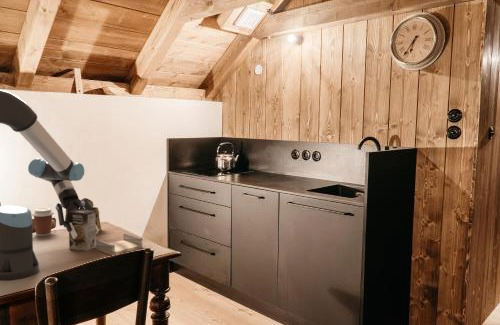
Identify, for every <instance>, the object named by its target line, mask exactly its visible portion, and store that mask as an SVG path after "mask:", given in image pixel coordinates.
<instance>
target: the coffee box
mask: <svg viewBox="0 0 500 325" xmlns="http://www.w3.org/2000/svg"><path fill="white" fill-rule="evenodd" d="M69 218H70V220H69V223H72V225H73V227H74V229H75V231H76V233H77V237H76V238H75V239H73V237H72V235H71V233H70V232H68V239H69V240H68V245H69V246H68V249H69V250H77V251H86V252H87V251H88V252H89V251H90V250H92V249H94V248H96V240H97V239H96V235H97V234H96V211H91V210H80V208H79V209H77V210H73V211H70V212H69Z"/></svg>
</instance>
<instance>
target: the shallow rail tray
mask: <svg viewBox="0 0 500 325" xmlns="http://www.w3.org/2000/svg"><path fill="white" fill-rule="evenodd" d="M142 248H143V237H140V236H137V235H133V234H130V233H127V232H125V233H123V240H118V241H115V242H114V241H113V242H110V243H109V242H107V241H104V240H101V239H96V247H95V250H97V251H99V252H102V253H104V254H107V255H109V256H112V255H113V256H115V255H114V254H117V255H120V254H119V253H121V254H123V252H124V253H127V252H132V251H134V250H135V251H136V250H139V249H142Z"/></svg>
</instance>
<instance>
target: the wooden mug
mask: <svg viewBox="0 0 500 325" xmlns="http://www.w3.org/2000/svg"><path fill="white" fill-rule="evenodd" d="M85 199H86V200H87V201H88V204H89V205H90V206H91V207H92V209H93V210H94V211H96V213H97V215H98V216H97V218H96V222H97V227H98V229H99V232H101V231H102V226H101V219H100V210H99V207H97V206H94V202H93V201H92V200H91V199H89V198H86V197H84V198H82V199H80V200H81V201H84V200H85ZM81 205H82V204H81ZM83 207H84V206H83Z"/></svg>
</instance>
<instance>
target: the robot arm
mask: <svg viewBox="0 0 500 325" xmlns="http://www.w3.org/2000/svg"><path fill="white" fill-rule="evenodd" d="M0 124H3V125H6V126H7V127H10V128H11V130H13V131H14V132H16V133H19V134H20V135H21V136H22V137H23V138H24V139H25V140H26V141H27V142H28V143H29V145H31V146H32V148H33V149H34V150H35V151H36V152H37V153H38V154H39V155H40V156H41V157H42V158H43V159H41V158H34V159H32V160H31V161H30V162H29V164H28V167H27V170H28V173H29V174H30V175H31V176H34V177H35V178H38V179H42V180H44V181H46V182H49V183H51V185H52V187H53V190H54V191H55V193H56V195H57V197H58V200H59V202H60V203H59V202H58V203H56V205H55V208H54V209H55V210H56V212H57V217H58V218H57V219H58V224H59V226H60V227H62V226H63V227H64V228H66V230H67V232H68V233H69V232H70V233H71V235H72V237H73V239H75V238H76V237H77V233H76V231H75V229H74V227H73V225H72V223H69V220H70V218H69V212H70V211H73V210H77V209H80V210H91V211H94V210H93V209H92V207H91V206H90V205H89V204H88V201H87V200H86V199H85V200H84V201H81V200H82V199H80V197H79V195H78V193H77V191H76V189H75V186H74V185H73V183H72V181H73V182H74V181H78V182H79V181H81V180H82V179H83V177H84V176H85V167H84V166H83V164H82V163H80V162H74V161H73V160H72V159H71V158H70V156H69V155H67V153H66V151H64V150H63V149H62V147H61V146H60V144H59V143H57V141H55V138H53V137H52V135H51V134H50V133H49V132H48V130H47V129H46V128H45V127H44V126H43V125H42V124H41V123H40V121H39V120H38V115H37V113H36V111H34V110H33V109H32V107H30V105H28V103H26V102H25V101H24V100H22V98H20V97H19V96H17V95H15V94H14V93H12V92H9V91H7V90H4V89H0ZM81 204H82V205H81ZM83 206H84V207H83ZM63 209H65V215H64V211H63ZM32 214H33V213H32V211H31V210H30V209H29V208H27V207H24V206H21V205H2V206H1V201H0V281H1V280H2V281H7V280H8V281H11V280H18V279H23V278H27V277H30V276H33V275H36V273H38V272H39V270H40V263H39V261H38V258H37V256H36V253H35V251H34V246H33V245H34V240H33V239H34V238H33V237H34V234H33V232H34V231H33V223H34V221H33V215H32ZM97 216H98V215H97V213H96V218H97ZM64 217H65V218H64ZM99 232H100V231H99V229H98V227H97V222H96V235H98V233H99Z"/></svg>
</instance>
